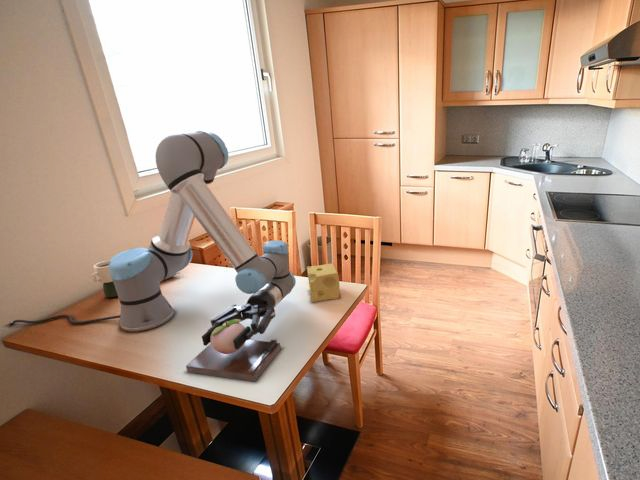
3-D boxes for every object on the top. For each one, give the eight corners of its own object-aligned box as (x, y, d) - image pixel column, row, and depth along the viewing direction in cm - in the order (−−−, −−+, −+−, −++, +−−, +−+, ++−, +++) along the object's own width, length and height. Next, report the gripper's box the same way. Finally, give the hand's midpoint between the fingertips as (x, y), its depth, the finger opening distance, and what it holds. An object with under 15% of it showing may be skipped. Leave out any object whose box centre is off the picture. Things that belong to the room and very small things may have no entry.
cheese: (311, 303, 133) (308, 277, 129) (308, 289, 143) (305, 265, 139) (340, 298, 136) (338, 273, 132) (336, 285, 145) (334, 261, 141)
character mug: (122, 287, 150) (112, 257, 145) (135, 290, 147) (125, 259, 142) (94, 300, 140) (83, 268, 135) (107, 303, 138) (96, 270, 133)
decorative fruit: (231, 366, 97) (224, 333, 94) (208, 359, 101) (200, 326, 97) (257, 346, 105) (251, 315, 101) (235, 340, 108) (228, 309, 105)
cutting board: (187, 372, 100) (184, 362, 99) (219, 341, 113) (217, 332, 112) (255, 381, 96) (253, 371, 95) (281, 348, 109) (279, 339, 107)
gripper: (297, 314, 116) (259, 359, 96) (236, 308, 121) (187, 350, 101) (294, 292, 114) (254, 334, 93) (231, 287, 118) (180, 326, 98)
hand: (219, 342), depth 97 cm, fingers closed on decorative fruit, 8 cm apart
